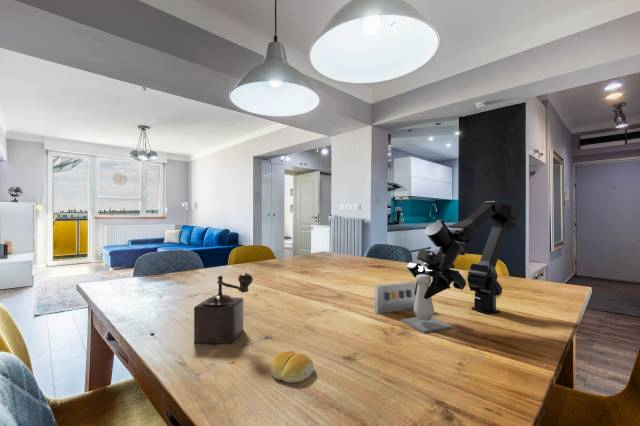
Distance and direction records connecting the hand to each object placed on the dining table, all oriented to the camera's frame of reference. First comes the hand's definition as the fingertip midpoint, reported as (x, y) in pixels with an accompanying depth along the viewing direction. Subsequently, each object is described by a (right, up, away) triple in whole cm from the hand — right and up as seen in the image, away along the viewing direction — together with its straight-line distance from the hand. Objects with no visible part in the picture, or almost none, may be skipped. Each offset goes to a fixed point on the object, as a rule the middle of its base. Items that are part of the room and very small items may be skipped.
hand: (420, 296), depth 90 cm
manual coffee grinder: (-55, -9, -7) cm, 56 cm away
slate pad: (+2, -9, +1) cm, 9 cm away
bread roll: (-36, -9, -26) cm, 45 cm away
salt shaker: (+1, -7, 0) cm, 7 cm away
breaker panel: (-3, -9, +15) cm, 18 cm away
